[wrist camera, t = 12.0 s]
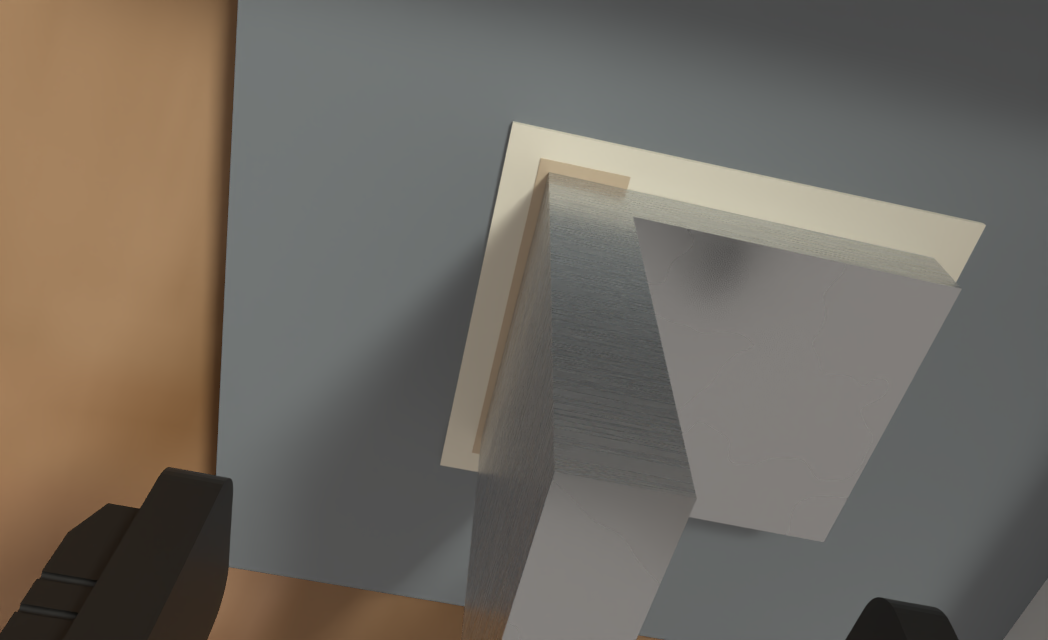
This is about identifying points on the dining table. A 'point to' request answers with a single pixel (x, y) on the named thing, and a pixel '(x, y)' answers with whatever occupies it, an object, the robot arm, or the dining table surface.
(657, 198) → the angle bracket
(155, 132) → the dining table surface
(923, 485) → the corner arena
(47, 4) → the dining table surface
